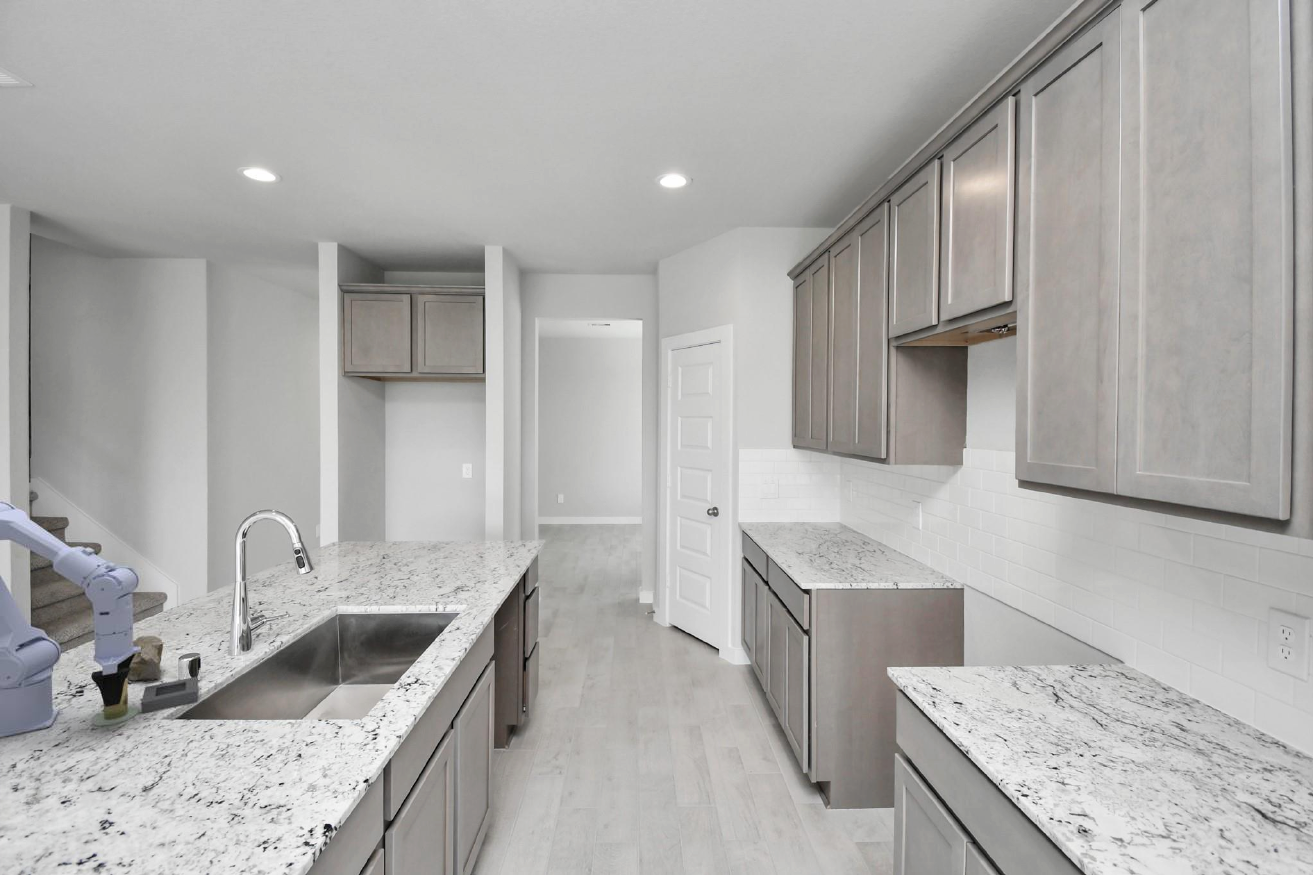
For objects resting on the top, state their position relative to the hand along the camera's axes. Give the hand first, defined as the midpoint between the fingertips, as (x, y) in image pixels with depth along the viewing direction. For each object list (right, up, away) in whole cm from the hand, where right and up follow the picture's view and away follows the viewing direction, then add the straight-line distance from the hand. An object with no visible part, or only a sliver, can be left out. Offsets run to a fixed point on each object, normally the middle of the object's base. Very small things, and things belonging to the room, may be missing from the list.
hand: (115, 697), depth 119 cm
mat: (0, -4, 0) cm, 4 cm away
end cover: (0, -4, 0) cm, 4 cm away
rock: (-11, -4, +20) cm, 23 cm away
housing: (+5, -4, +8) cm, 10 cm away
